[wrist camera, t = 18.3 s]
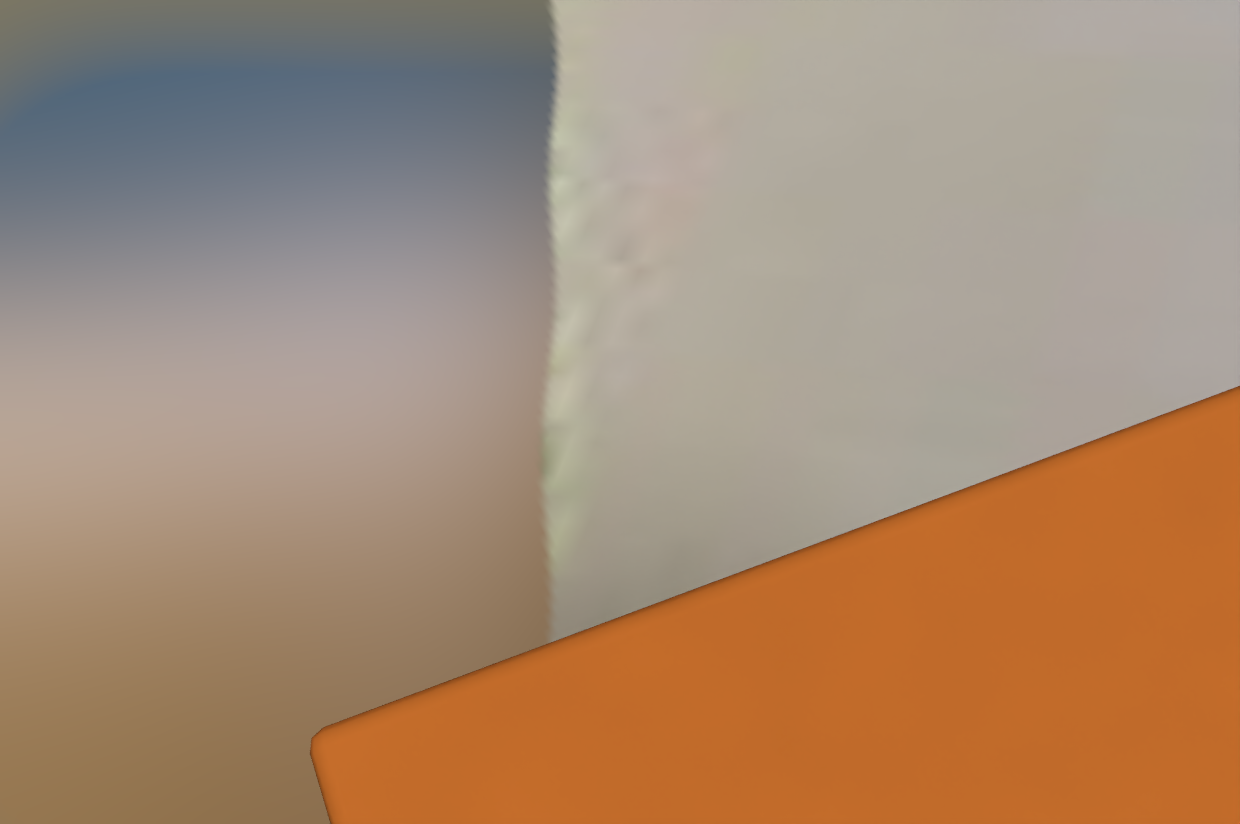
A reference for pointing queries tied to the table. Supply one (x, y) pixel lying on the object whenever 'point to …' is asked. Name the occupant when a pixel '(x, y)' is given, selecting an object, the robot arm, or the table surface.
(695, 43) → the table surface
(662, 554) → the table surface
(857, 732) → the toy block
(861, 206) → the table surface
